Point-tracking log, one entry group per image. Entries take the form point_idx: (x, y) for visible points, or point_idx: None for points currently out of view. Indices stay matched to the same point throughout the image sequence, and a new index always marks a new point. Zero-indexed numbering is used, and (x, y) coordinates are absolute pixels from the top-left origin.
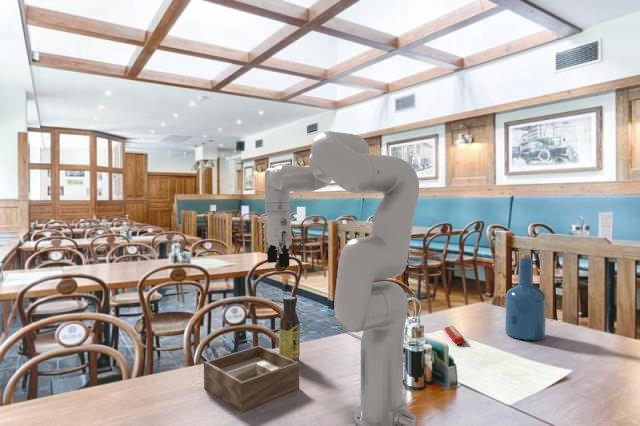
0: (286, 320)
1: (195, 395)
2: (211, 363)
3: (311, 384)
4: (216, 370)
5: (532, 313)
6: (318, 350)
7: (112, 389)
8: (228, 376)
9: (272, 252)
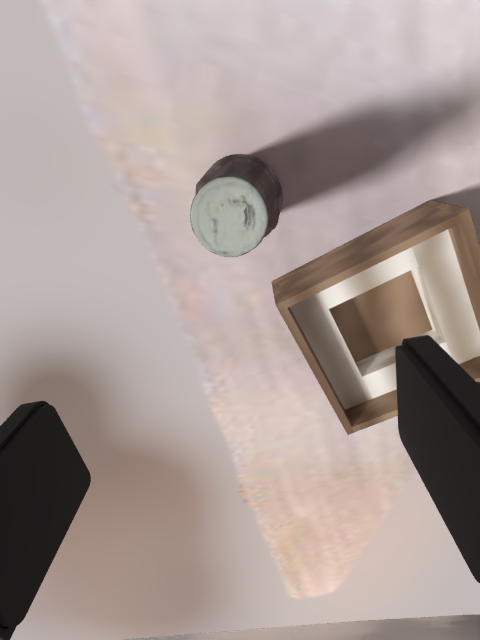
0: (274, 227)
1: None
2: (346, 416)
3: (421, 159)
4: None
5: None
6: (168, 58)
7: (283, 516)
8: None
9: (2, 558)
